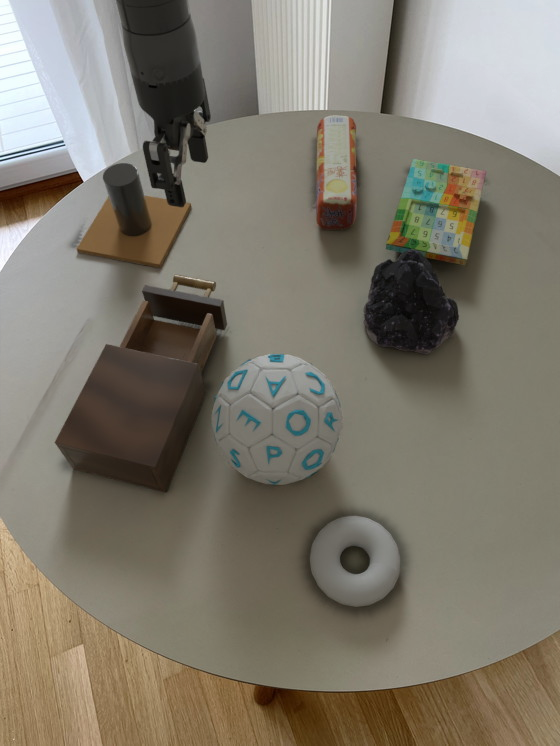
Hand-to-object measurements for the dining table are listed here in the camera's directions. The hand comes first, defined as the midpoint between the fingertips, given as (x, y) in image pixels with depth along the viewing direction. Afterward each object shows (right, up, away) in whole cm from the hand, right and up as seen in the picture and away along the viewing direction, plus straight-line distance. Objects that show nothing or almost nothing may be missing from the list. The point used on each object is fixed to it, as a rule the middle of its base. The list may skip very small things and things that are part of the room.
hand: (188, 182), depth 82 cm
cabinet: (-6, -32, +2) cm, 32 cm away
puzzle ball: (+12, -34, 0) cm, 36 cm away
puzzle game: (+36, -1, +20) cm, 41 cm away
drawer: (-3, -20, +8) cm, 22 cm away
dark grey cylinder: (-12, -1, +21) cm, 24 cm away
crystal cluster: (+30, -17, +10) cm, 35 cm away
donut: (+20, -46, -9) cm, 51 cm away
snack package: (+21, +7, +26) cm, 34 cm away
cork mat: (-12, -1, +22) cm, 25 cm away
